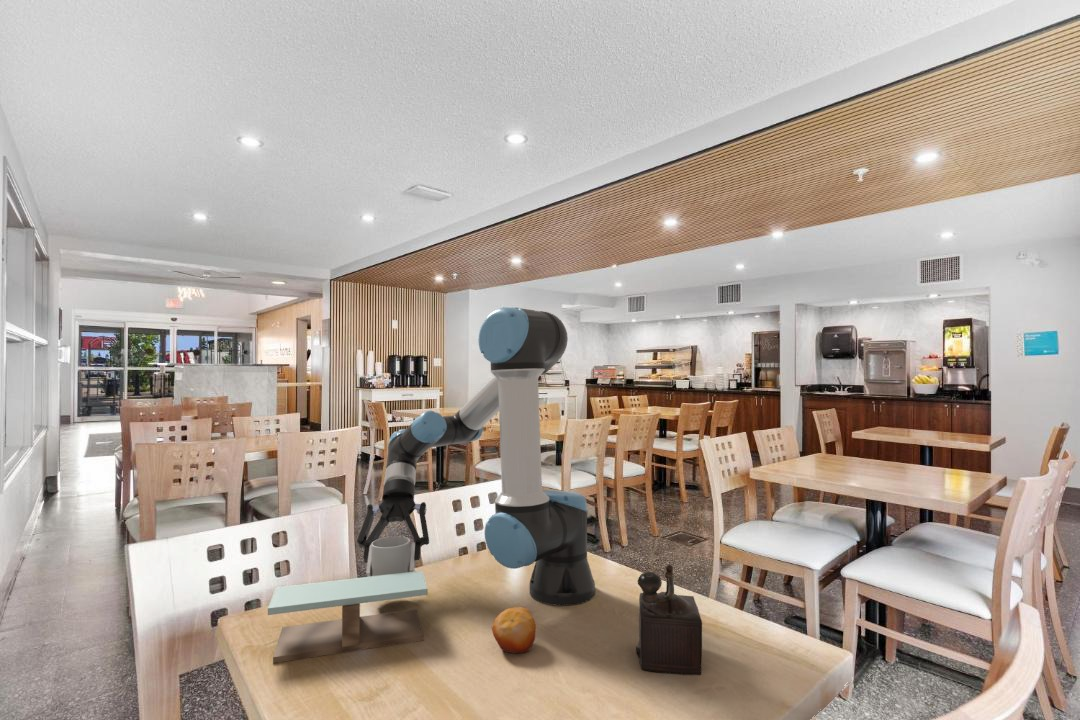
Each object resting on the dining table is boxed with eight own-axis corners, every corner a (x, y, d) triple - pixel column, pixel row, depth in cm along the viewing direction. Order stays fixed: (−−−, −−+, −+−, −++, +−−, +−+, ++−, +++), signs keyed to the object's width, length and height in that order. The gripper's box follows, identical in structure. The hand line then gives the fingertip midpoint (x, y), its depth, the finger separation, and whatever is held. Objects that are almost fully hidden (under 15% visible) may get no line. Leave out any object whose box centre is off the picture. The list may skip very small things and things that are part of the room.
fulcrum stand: (416, 613, 117) (416, 575, 117) (422, 640, 105) (422, 598, 105) (282, 632, 109) (282, 591, 109) (272, 663, 97) (273, 617, 97)
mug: (400, 601, 116) (399, 548, 117) (363, 598, 118) (363, 546, 119) (424, 580, 128) (423, 532, 128) (390, 577, 130) (390, 530, 130)
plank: (422, 576, 116) (422, 570, 116) (427, 594, 107) (427, 588, 107) (276, 593, 108) (276, 587, 108) (267, 615, 98) (267, 608, 98)
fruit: (545, 629, 107) (538, 602, 103) (533, 668, 100) (525, 641, 96) (506, 623, 109) (498, 596, 105) (492, 661, 103) (483, 634, 99)
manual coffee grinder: (634, 641, 105) (634, 546, 105) (694, 645, 103) (694, 548, 103) (637, 688, 89) (637, 576, 90) (708, 693, 88) (707, 579, 88)
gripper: (443, 492, 140) (440, 579, 124) (357, 496, 138) (342, 585, 121) (442, 475, 135) (438, 563, 119) (352, 478, 133) (336, 569, 116)
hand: (390, 574), depth 120 cm, fingers closed on mug, 8 cm apart
